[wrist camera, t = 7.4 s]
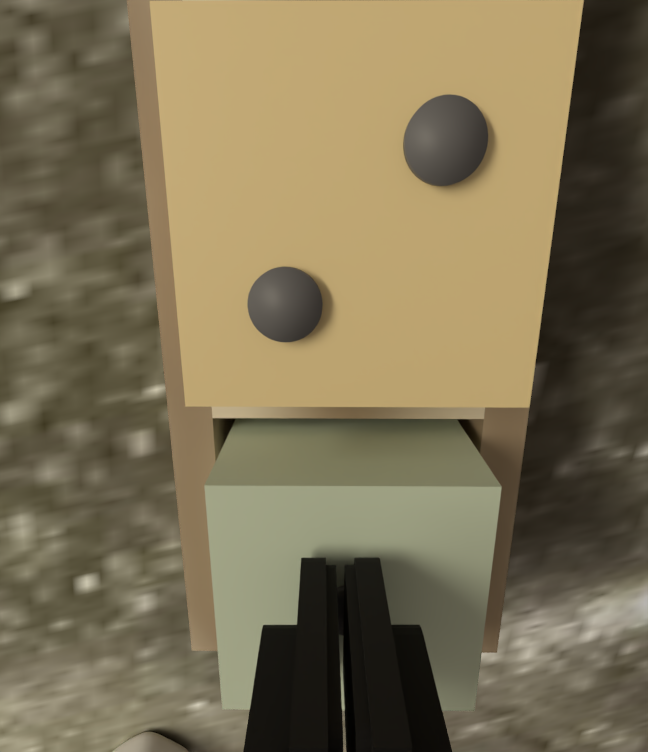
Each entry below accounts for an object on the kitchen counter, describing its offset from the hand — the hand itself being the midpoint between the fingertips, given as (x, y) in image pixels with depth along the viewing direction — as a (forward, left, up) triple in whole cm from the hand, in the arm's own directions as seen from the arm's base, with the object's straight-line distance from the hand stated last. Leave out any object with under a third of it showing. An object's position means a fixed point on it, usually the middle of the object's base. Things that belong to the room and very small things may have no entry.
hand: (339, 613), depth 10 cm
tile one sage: (0, 0, -4) cm, 4 cm away
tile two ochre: (0, -8, -3) cm, 9 cm away
